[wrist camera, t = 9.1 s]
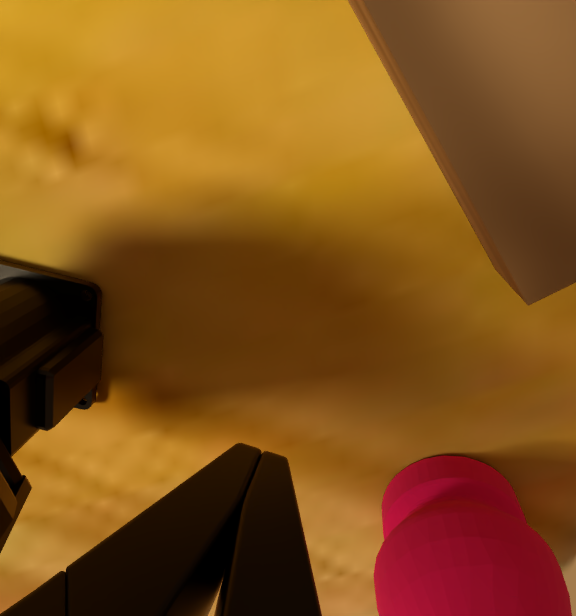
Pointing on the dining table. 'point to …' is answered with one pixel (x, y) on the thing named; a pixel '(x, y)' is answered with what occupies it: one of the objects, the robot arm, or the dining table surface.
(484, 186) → the brown flat block
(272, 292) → the dining table surface
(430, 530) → the pepper mill
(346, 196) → the dining table surface
